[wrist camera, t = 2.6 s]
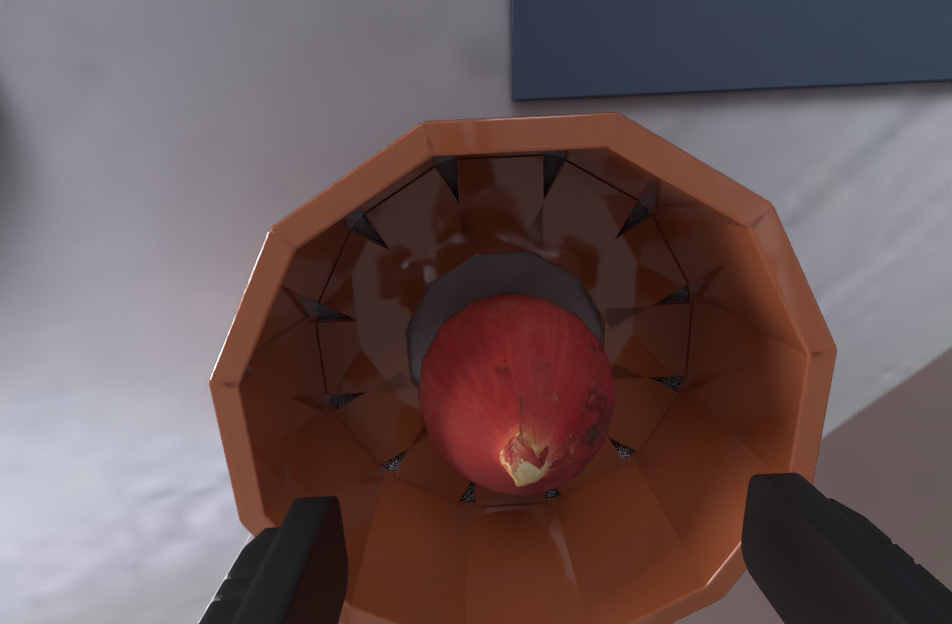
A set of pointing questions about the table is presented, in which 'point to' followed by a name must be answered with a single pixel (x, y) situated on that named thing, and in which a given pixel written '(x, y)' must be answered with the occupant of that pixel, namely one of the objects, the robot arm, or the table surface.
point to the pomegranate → (516, 393)
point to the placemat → (723, 45)
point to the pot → (622, 335)
